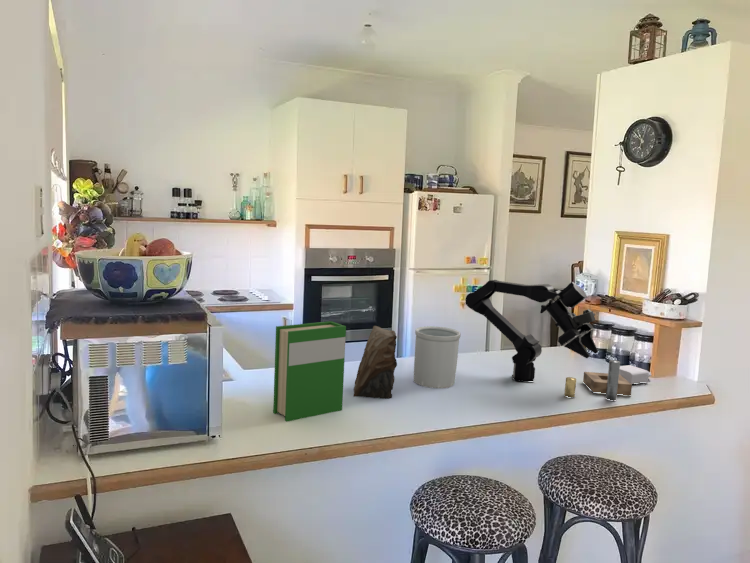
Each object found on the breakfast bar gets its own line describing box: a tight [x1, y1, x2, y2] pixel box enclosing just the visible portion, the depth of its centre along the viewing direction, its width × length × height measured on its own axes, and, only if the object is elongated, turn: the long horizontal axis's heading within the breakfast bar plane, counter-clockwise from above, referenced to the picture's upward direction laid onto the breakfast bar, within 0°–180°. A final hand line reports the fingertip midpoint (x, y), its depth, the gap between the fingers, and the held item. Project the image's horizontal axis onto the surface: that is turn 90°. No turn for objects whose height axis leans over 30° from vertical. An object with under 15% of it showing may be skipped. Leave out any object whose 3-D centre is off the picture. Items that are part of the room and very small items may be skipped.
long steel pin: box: [605, 359, 621, 401], centre depth 187 cm, size 3×3×12 cm
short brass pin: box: [563, 376, 577, 397], centre depth 189 cm, size 3×3×6 cm
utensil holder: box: [413, 325, 461, 389], centre depth 195 cm, size 15×15×18 cm
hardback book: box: [272, 320, 347, 423], centre depth 161 cm, size 18×7×24 cm, turn 128°
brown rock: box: [353, 325, 398, 400], centre depth 181 cm, size 13×13×20 cm
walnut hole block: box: [582, 371, 633, 396], centre depth 199 cm, size 12×12×4 cm
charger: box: [619, 364, 652, 384], centre depth 212 cm, size 5×9×15 cm
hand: (592, 355), depth 191 cm, fingers open, 9 cm apart
